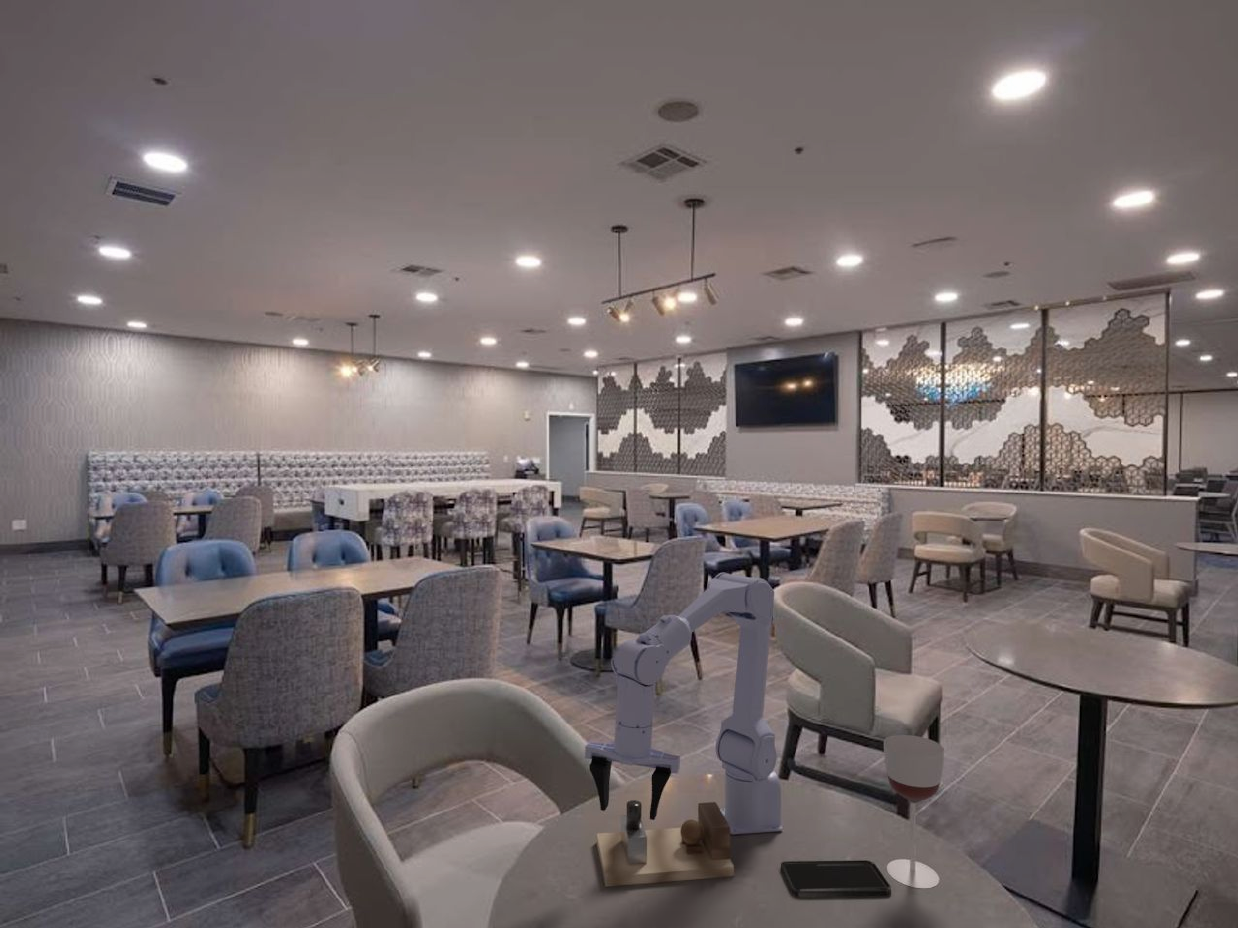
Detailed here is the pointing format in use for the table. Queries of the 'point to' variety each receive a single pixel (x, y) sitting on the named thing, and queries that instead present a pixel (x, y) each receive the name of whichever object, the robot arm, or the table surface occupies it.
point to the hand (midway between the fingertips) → (628, 812)
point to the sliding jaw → (634, 834)
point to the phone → (834, 879)
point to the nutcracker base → (671, 853)
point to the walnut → (691, 832)
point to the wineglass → (913, 795)
